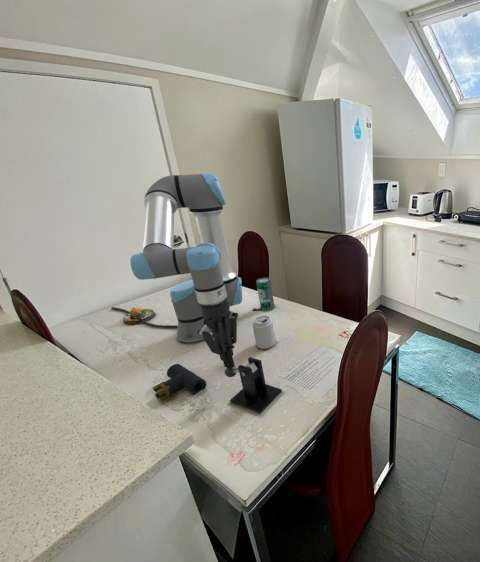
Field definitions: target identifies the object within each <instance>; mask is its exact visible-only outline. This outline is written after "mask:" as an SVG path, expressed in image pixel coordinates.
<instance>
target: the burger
mask: <svg viewBox="0 0 480 562" xmlns="http://www.w3.org/2000/svg"><path fill="white" fill-rule="evenodd" d="M129 310H130V311H129V312H130V314H128V313H126V315H125V316H124V317H123V318H122V319H123V323H124V324H128V325H133V324H134V325H136V324H141V323H142V322H140V321H141V320H143V321H145V322H148V321H149V320H150V319H152V318H153V317H155V311H154V309H150V308H143V309H142V308H141V307H139V306H135V307H134V306H133V307H132V308H131V309H129ZM137 318H140V320H137Z"/></svg>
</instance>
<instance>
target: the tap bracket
mask: <svg viewBox="0 0 480 562" xmlns="http://www.w3.org/2000/svg"><path fill="white" fill-rule="evenodd" d="M247 361H248V363H253V362H254V363H255V365H256V366H257V368H258V369H257V370H256V371H255V372H253V373H252V369H251V368H249V367H246V365H243V364H239V365H238V366H237V368H238V369H239V372H238V374H239V377H240V383H241V386H242V388H241V390H239V392H237V393H236V394H235V395H233V397H232V398H231V399H230V400H229V402H230V403H231V404H233V405H236V406H238V407H241V408H244V409H246V410H250V411H253V412H254V413H257V414H259V415H261V414H262V413H263V412H264V411H265V410H266V409H267V408H268V407H269V405H271V403H273V401H274V400H275V399H276V398H277V397H278V396H279V395H280V394H281V393H282V392H283V390H282V389H281V388H279V387H275V386H272V385H269V384H266V380H265V374H264V368H263V363H262V360H261V359H258V358H254V357H252V356H250V357H248V358H247Z"/></svg>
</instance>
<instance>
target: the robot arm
mask: <svg viewBox="0 0 480 562" xmlns="http://www.w3.org/2000/svg"><path fill="white" fill-rule="evenodd" d="M143 204H144V207H145V209H146V217H145V225H144V235H143V244H142V245H143V246H142V252H138V253H134V254H132V255H131V257H130V260H129V262H130V263H129V264H130V269H131V271H132V273H133V276H134V277H135V278H136V279H138V280H141V281H143V280H157V279H162V278H167V277H173V276H179V275H187V274H190V276H191V279H188V280H185V281H182V282H180V283H177V284H176V285H174V286H173V287H172V288H171V289H170V291H169V296H170V302H171V303H172V306H173V309H174V313H175V315H176V319H177V325H170V324H169V325H166V324H165V325H164V324H155V323H151V322H148V321H143V320H141V321H140V322H141V323H142V324H145V325H147V326H151V327H155V328H163V329H165V328H166V329H171V328H172V329H173V328H174V329H175V328H176V329H177V331H176V337H177V340H178V342H181V343H182V344H195V343H200V342H203V341H204V342H205V344H206V345H207V347H208V348H209V350H210V352H211V353H212V354H216V355H219V358H220V361H222V362H223V366H224V368H225V369H226V368H229V369H232V368H233V367H234V366H235V362H234V358H233V356H234V349H235V345H234V344H236V343H237V342H238V339H237V338H238V336H237V335H238V333H237V331H238V326H237V325H238V324H237V321H238V317H239V313H238V312H236V311H231V310H230V309H231V307H233V306H236V305H240V304H241V303H242V302H243V287H242V285H243V284H242V277H239V276H238V275H237V273H236V272H235V271H233V269H232V264H231V261H230V260H231V259H230V255H229V250H228V247H227V241H226V237H225V236H226V235H225V232H224V227H223V222H222V217H221V213H222V212H223V211H224V206H226V204H227V201H226V199H225V195H224V192H223V189H222V187H221V184H220V181H219V178H218V177H217V175H215V174H213V173H195V174H193V173H191V174H169V175H166V176H163V177H161V178H159V179H157V180H156V181H155V182H153V183H152V185H150V186H149V188H148V189H147V190H146V192H145V194H144V201H143ZM185 208H186V209H187V208H188V211H189V213H190V214H192V215H193V216H194V217H195V220H196V225H197V229H198V232H199V237H200V242H201V243H199V244H197V245H196V246H191V247H183V248H182V247H181V248H174V247H175V246H174V245H175V244H174V241H175V239H174V237H175V236H174V235H175V213H176V212H177V211H178V209H185ZM110 309H111V310H114V311H115V310H116V311H120V312H123V313H126V314H130V311H129V310H126V309H124V308H121V307H120V308H119V307H114V306H111V307H110ZM137 320H140V318H137Z"/></svg>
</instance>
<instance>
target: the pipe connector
mask: <svg viewBox="0 0 480 562" xmlns="http://www.w3.org/2000/svg"><path fill="white" fill-rule="evenodd" d="M166 375H167V377H168V378H169V379H167V380H166V381H161V382H160V383H158V384H156V385H154V386H153V387H152V391H153V392H154V396H155V398H156V399H158V400H159V401H160V402H161V403H164V402H166V401H167V400H169V399H170V398H173V396H174V395H175V394H177V393H179V392H180V391H182V390H187V391H188V392H189V393H191V394H192V395H197V394H199V393H201V391H203V390H205V389H206V387H207V381H206V380H205V379H203V378H202V377H200V376H198V375H197V374H195V373H194V372H193V371H192V370H190V369H188V368H187V367H185V366H184V365H182V364H180V363H174V364H171V365H170V366H169V367H168V369H167V371H166Z"/></svg>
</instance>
